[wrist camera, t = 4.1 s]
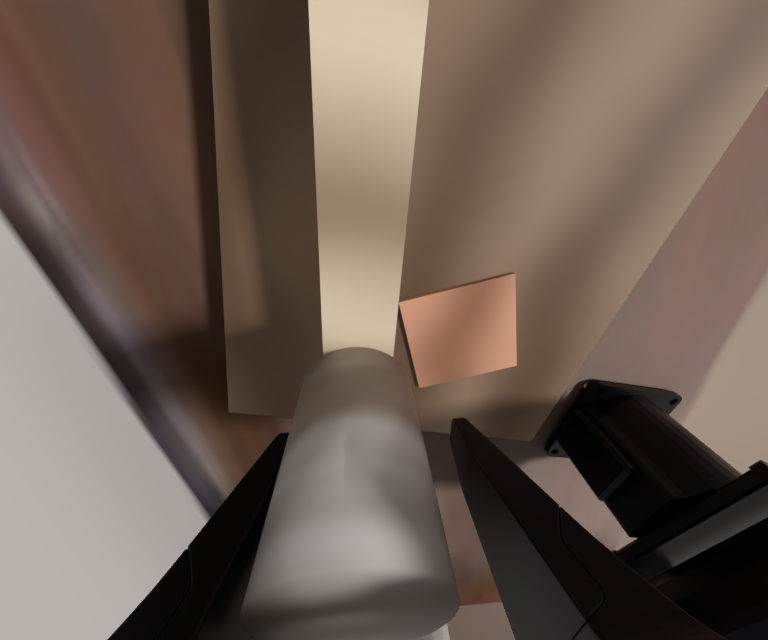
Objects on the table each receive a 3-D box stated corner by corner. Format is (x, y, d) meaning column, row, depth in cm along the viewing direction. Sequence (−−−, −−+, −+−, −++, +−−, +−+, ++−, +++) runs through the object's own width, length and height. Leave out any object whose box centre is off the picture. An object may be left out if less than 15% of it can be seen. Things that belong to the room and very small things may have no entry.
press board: (928, -248, 7) (1165, -420, 5) (519, 422, 19) (540, 456, 17) (213, -762, 5) (78, -1598, 2) (239, 391, 16) (220, 427, 14)
